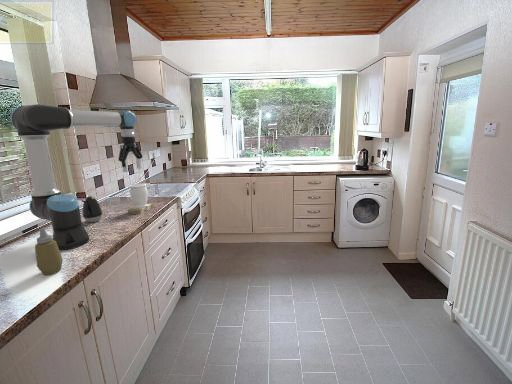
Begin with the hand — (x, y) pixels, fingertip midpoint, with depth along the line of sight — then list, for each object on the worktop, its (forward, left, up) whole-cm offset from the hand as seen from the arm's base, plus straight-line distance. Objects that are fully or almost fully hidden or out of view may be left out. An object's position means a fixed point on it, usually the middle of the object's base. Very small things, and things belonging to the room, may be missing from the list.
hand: (132, 170), depth 175 cm
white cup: (+1, -1, -25) cm, 25 cm away
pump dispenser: (-21, +15, -27) cm, 38 cm away
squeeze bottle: (-75, -14, -27) cm, 81 cm away
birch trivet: (+1, -1, -27) cm, 27 cm away
